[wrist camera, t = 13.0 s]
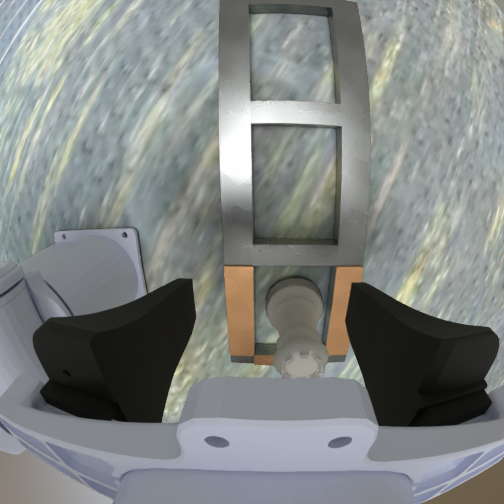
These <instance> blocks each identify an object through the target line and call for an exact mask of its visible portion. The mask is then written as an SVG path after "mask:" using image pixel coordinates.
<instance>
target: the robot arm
mask: <svg viewBox="0 0 504 504" xmlns="http://www.w3.org/2000/svg"><path fill="white" fill-rule="evenodd" d="M124 232H126V233H127V237H126V236H125V235H124ZM65 235H66V237H65ZM54 239H55V244H53V245H51V246H49V247H47V248H45V249H43V250H41V251H40V252H38V253H36V254H34V255H32V256H31V257H29V258H27V259H25V260H23V261H22V262H20V263H18V264H16V263H14V262H12V261H6V262H3V263H1V264H0V450H1V451H4V452H8V453H11V454H17V455H18V454H20V453H22V452H23V451H24V450H26V449H27V450H28V451H29V452H31V453H32V454H34V455H35V456H37V457H38V458H40V459H41V460H43V461H44V462H46V463H48V464H49V465H51V466H52V467H54V468H55V469H57V470H59V471H60V472H62V473H64V474H65V475H67V476H69V477H70V478H72V479H74V480H76V481H78V482H79V483H81V484H83V485H85V486H86V487H88V488H90V489H92V490H94V491H96V492H98V493H100V494H102V495H104V496H106V497H109V498H111V499H113V500H114V501H113V504H420V503H422V502H425V501H427V500H429V499H432V498H434V497H436V496H438V495H440V494H442V493H444V492H446V491H448V490H450V489H452V488H454V487H456V486H458V485H460V484H461V483H463V482H465V481H467V480H468V479H470V478H472V477H474V476H476V475H477V474H479V473H481V472H482V471H484V470H486V469H487V468H489V467H491V466H492V465H494V464H495V463H497V462H498V461H500V460H501V459H502V458H503V457H504V385H503V386H501V387H499V388H497V389H495V390H493V391H491V392H490V393H489V394H488V395H487V393H486V392H485V390H484V389H486V387H487V383H486V381H485V380H484V378H485V376H486V375H487V373H488V371H489V369H490V367H491V366H492V364H493V362H494V360H495V358H496V356H497V353H498V349H499V338H498V336H497V335H496V334H495V333H494V332H493V331H492V330H491V328H489V327H483V326H472V325H465V324H459V323H454V322H450V321H446V320H442V319H439V318H436V317H433V316H430V315H427V314H425V313H422V312H420V311H417V310H415V309H413V308H411V307H409V306H407V305H405V304H403V303H401V302H399V301H397V300H395V299H394V298H392V297H390V296H388V295H387V294H385V293H383V292H382V291H380V290H378V289H377V288H375V287H373V286H371V285H369V284H367V283H364V282H352V283H351V290H350V296H349V301H348V307H347V312H346V318H345V324H346V328H347V333H348V337H349V340H350V343H351V345H352V348H353V351H354V353H355V356H356V359H357V361H358V364H359V367H360V369H361V372H362V375H363V378H364V382H365V387H366V388H365V387H363V386H362V385H361V384H360V383H359V382H358V381H356V380H352V379H344V378H336V377H328V378H250V377H233V376H225V377H215V378H204V379H203V380H201V381H200V382H198V383H197V384H195V385H194V386H192V387H190V390H189V393H188V396H187V399H186V402H185V405H184V408H183V411H182V414H181V417H180V420H179V423H161V422H162V417H163V413H164V408H165V404H166V400H167V396H168V392H169V389H170V385H171V382H172V379H173V375H174V373H175V370H176V368H177V365H178V363H179V361H180V359H181V357H182V354H183V352H184V350H185V348H186V346H187V343H188V341H189V339H190V337H191V334H192V331H193V327H194V324H195V320H196V311H195V302H194V293H193V283H192V279H183V278H179V279H176V280H174V281H172V282H170V283H168V284H166V285H164V286H162V287H160V288H158V289H156V290H155V291H153V292H151V293H149V294H147V291H146V286H145V280H144V275H143V269H142V263H141V256H140V250H139V243H138V235H137V231H136V230H135V229H134V228H109V229H86V230H66V231H57V232H55V234H54Z"/></svg>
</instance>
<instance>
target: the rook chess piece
mask: <svg viewBox="0 0 504 504" xmlns="http://www.w3.org/2000/svg"><path fill="white" fill-rule="evenodd" d="M266 310H267V316H268V318H269V320H270V322H271V324H272V326H274V327H275V328H276V329H277V330H278V332H279V338H278V340H277V351H276V352H275V354H274V356H273V364H274V366H275V368H276V370H277V371H278V372H280V374H282V375H283V378H319V372H320V373H324V370H325V365H326V364H327V363H328V358H329V352H328V350H327V347H326V346H325V345H324V344H322V343H321V341H322V339H321V336H320V334H319V333H318V332H317V331H316V325H317V323H318V321H319V320H320V318H321V316H322V310H323V302H322V296H321V294H320V291H319V289H318V288H317V287H316V286H315V285H314V284H313V283H312V282H310V281H307V280H305V279H302V278H289V279H286V280H283V281H281V282H278V283H277V284H276V285H275V286H274V287H273V288H272V289H270V291H269V293H268V295H267V298H266Z"/></svg>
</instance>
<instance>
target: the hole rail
mask: <svg viewBox="0 0 504 504" xmlns="http://www.w3.org/2000/svg"><path fill="white" fill-rule="evenodd" d="M251 13H292V14H309V15H320V16H328V19H329V27H330V35H331V44H332V55H333V66H334V80H335V99H336V104H333V103H320V102H303V101H252V86H251V36H250V14H251ZM252 126H305V127H324V128H336V130H337V170H336V203H335V222H334V238H333V239H281V238H254V200H253V141H252ZM219 145H220V181H221V208H222V230H223V250H224V277H225V292H226V307H227V321H228V334H229V346H230V355H231V362H236V363H255V365H274V364H273V356H274V354H275V352H276V351H277V344H256V338H255V266H331V273H330V283H329V292H328V300H327V308H326V316H325V323H324V330H323V337H322V344H324V345H325V346H326V347H327V350H328V352H329V358H328V362H344V361H345V358H346V354H347V353H348V348H349V344H350V340H349V337H348V333H347V328H346V324H345V318H346V312H347V307H348V301H349V296H350V290H351V283H352V282H361V280H362V273H363V258H364V250H365V241H366V231H367V220H368V207H369V191H370V162H371V130H370V103H369V87H368V75H367V65H366V56H365V48H364V41H363V34H362V28H361V22H360V16H359V11H358V6H357V2H351V1H345V0H220V13H219Z"/></svg>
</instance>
